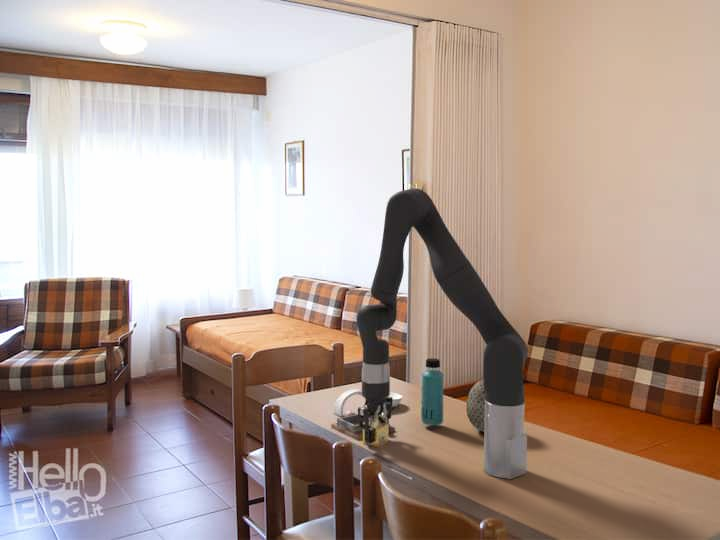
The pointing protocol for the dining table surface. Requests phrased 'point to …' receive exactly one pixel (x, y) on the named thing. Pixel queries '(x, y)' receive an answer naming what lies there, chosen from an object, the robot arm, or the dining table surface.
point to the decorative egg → (476, 406)
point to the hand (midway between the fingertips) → (375, 439)
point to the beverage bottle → (432, 394)
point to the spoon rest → (341, 400)
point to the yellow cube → (378, 434)
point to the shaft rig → (353, 425)
